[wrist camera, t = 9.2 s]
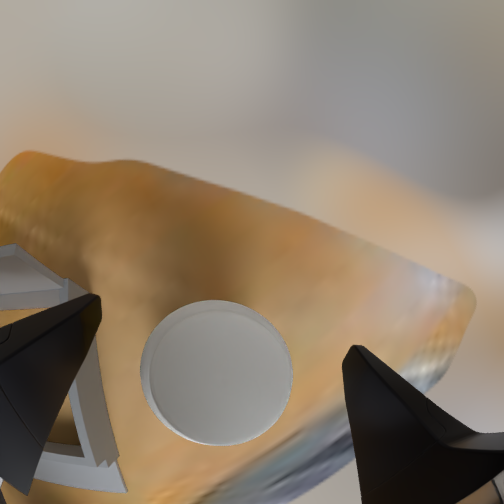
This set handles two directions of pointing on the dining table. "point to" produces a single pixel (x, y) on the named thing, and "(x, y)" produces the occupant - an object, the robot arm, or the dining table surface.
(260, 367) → the supplement bottle
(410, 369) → the dining table surface
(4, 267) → the carton
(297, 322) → the dining table surface
